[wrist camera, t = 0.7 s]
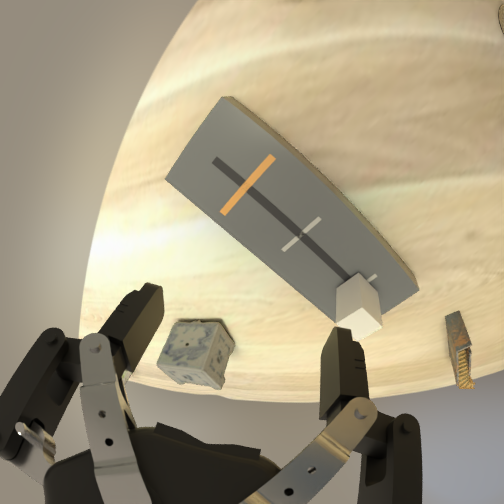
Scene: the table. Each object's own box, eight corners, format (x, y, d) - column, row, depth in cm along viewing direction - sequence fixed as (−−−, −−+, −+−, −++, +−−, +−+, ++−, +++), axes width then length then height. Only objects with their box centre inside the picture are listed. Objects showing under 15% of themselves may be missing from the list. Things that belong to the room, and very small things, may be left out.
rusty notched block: (463, 347, 37) (474, 389, 29) (449, 352, 38) (458, 396, 30) (460, 307, 33) (478, 354, 25) (444, 314, 35) (459, 362, 27)
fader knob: (377, 292, 31) (382, 327, 26) (356, 306, 33) (357, 341, 28) (358, 272, 31) (362, 307, 26) (336, 288, 32) (335, 323, 28)
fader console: (414, 276, 32) (419, 290, 30) (348, 319, 39) (349, 334, 36) (231, 96, 27) (221, 96, 24) (176, 172, 33) (164, 179, 31)
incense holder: (195, 347, 52) (174, 388, 44) (176, 317, 49) (150, 359, 40) (239, 348, 49) (221, 395, 40) (223, 316, 45) (199, 365, 37)
